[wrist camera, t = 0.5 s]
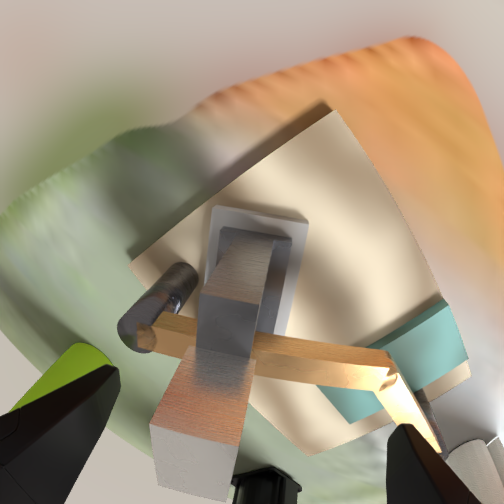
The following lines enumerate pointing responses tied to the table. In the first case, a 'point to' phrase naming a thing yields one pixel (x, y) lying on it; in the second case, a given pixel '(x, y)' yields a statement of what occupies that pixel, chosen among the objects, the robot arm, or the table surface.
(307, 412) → the beige rectangular panel
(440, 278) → the table surface
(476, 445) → the paper towel roll
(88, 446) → the robot arm
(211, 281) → the grey boxy piece
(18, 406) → the soap dispenser
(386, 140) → the table surface
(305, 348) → the wooden crank handle
